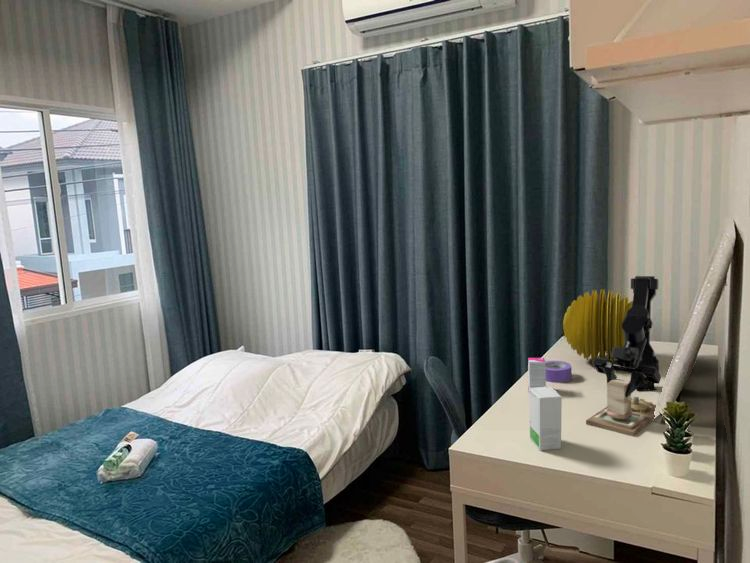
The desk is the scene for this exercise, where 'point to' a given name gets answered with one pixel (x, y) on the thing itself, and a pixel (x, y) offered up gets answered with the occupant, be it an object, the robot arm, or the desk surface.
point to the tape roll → (558, 371)
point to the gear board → (628, 426)
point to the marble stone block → (618, 399)
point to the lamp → (596, 324)
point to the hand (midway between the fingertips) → (617, 394)
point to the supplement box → (536, 373)
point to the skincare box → (545, 418)
